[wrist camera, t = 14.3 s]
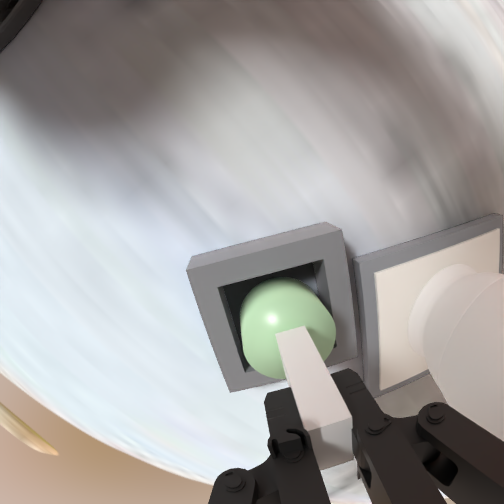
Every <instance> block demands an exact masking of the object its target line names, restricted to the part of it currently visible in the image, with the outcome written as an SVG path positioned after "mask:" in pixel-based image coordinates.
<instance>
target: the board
mask: <svg viewBox="0 0 504 504" xmlns="http://www.w3.org/2000/svg"><path fill="white" fill-rule="evenodd" d="M352 259H353V266H354V273H355V281H356V289H357V298H358V307H359V317H360V328H361V341H362V355H363V373H364V384H365V386H366V388H367V389H368V390H369V392H370V393H371V395H372V397H373V398H376V397H379V396H381V395H384V394H386V393H388V392H391V391H393V390H395V389H398V388H400V387H402V386H404V385H406V384H409V383H411V382H413V381H415V380H417V379H419V378H421V377H423V376H425V375H427V374H429V373H430V371H429V369H428V366H427V363H426V360H425V357H422V356H420V355H418V354H417V353H416V352H415V351H414V350H413V349H412V347H411V345H410V343H409V340H408V321H409V316H410V313H411V310H412V307H413V305H414V303H415V301H416V299H417V297H418V295H419V293H420V292H421V290H422V289H423V287H424V286H425V285H426V284H427V282H428V281H429V280H430V279H431V278H432V277H433V276H434V275H435V274H437V273H438V272H439V271H441V270H442V269H444V268H446V267H448V266H451V265H454V264H465V265H468V266H470V267H471V268H473V269H474V270H475V271H476V272H477V273H481V272H493V273H500V274H502V264H503V215H500V214H495V213H494V214H491V215H488V216H485V217H482V218H479V219H476V220H473V221H470V222H467V223H464V224H461V225H458V226H455V227H452V228H449V229H446V230H443V231H440V232H437V233H434V234H431V235H427V236H424V237H421V238H418V239H415V240H412V241H408V242H405V243H402V244H399V245H396V246H392V247H389V248H386V249H382V250H379V251H376V252H372V253H369V254H366V255H362V256H359V257H356V258H352Z"/></svg>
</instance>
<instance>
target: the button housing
mask: <svg viewBox="0 0 504 504" xmlns="http://www.w3.org/2000/svg"><path fill="white" fill-rule="evenodd" d="M310 262H313V267H314V272H315V278H316V283H317V289H318V294H319V300H320V301H321V302H322V304H323V305H324V306H325V308H326V309H327V310H328V312H329V313H330V315H331V316H332V318H333V320H334V323H335V327H336V339H335V344H334V346H333V349H332V351H331V353H330V354H329V356H328V357H327V359H326V360H325V361H324V363H325V365H326V367H329V366H332V365H335V364H338V363H341V362H344V361H347V360H350V359H353V358H356V357H358V353H357V341H356V330H355V320H354V311H353V302H352V294H351V286H350V278H349V271H348V264H347V257H346V251H345V245H344V239H343V233H342V229H340V228H338V227H336V226H333V225H331V224H329V223H327V222H323V223H319V224H315V225H311V226H307V227H303V228H299V229H295V230H291V231H287V232H283V233H280V234H276V235H272V236H268V237H264V238H260V239H256V240H252V241H249V242H245V243H241V244H237V245H233V246H229V247H226V248H222V249H218V250H214V251H210V252H207V253H203V254H199V255H195V256H192V257H191V260H190V262H189V264H188V267H187V269H186V272H187V275H188V278H189V281H190V284H191V287H192V290H193V293H194V296H195V299H196V302H197V305H198V308H199V311H200V314H201V317H202V320H203V322H204V325H205V328H206V331H207V334H208V336H209V339H210V342H211V345H212V347H213V350H214V353H215V355H216V358H217V361H218V363H219V366H220V368H221V371H222V374H223V376H224V379H225V381H226V384H227V386H228V389H229V391H230V393H231V392H236V391H240V390H245V389H249V388H254V387H258V386H262V385H266V384H270V383H274V382H278V381H282V380H285V379H275V378H271V377H268V376H265V375H263V374H261V373H259V372H258V371H256V370H255V369H254V368H253V367H252V366H251V365H250V364H249V363H248V361H247V359H246V357H245V355H244V351H243V349H242V346H241V343H240V340H239V337H238V334H237V331H236V327H235V324H234V321H233V318H232V315H231V311H230V308H229V305H228V301H227V298H226V295H225V292H224V288H223V286H224V285H228V284H231V283H235V282H239V281H243V280H247V279H251V278H255V277H258V276H262V275H266V274H270V273H273V272H277V271H281V270H285V269H288V268H292V267H296V266H299V265H303V264H307V263H310Z"/></svg>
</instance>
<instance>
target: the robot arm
mask: <svg viewBox="0 0 504 504" xmlns="http://www.w3.org/2000/svg"><path fill="white" fill-rule="evenodd" d="M41 1H42V0H0V51H1V50H2V49H3V48H4V47H5V46H6V45H7V44H8V43H9V42H10V41H11V40H12V39H13V38H14V36H15V35H16V34H17V33H18V32H19V31H20V29H21V28H22V27H23V26H24V24H25V23H26V22H27V21H28V19H29V18H30V17H31V15H32V14H33V13H34V11H35V10H36V8H37V7H38V5H39V4H40V2H41ZM275 336H276V340H277V344H278V348H279V352H280V356H281V360H282V364H283V368H284V371H285V375H286V379H287V382H288V385H289V387H288V388H285V389H281V390H277V391H273V392H269V393H267V396H266V398H265V401H264V405H265V410H266V416H267V421H268V427H269V432H270V438H269V439H268V445H267V446H268V449H269V451H270V454H271V455H270V456H269V458H268V459H267V460H266V461H265V462H264V463H262V464H261V465H259V466H257V467H255V468H253V469H250V470H246V469H241V468H234V469H229V470H227V471H224V472H223V473H221V474H220V475H219V476H218V477H217V479H216V481H215V483H214V486H213V490H212V493H211V496H210V499H209V502H208V504H331V503H330V500H329V497H328V494H327V491H326V488H325V485H324V482H323V478H322V475H321V472H320V470H324V469H327V468H330V467H333V466H336V465H339V464H342V463H345V462H348V461H351V460H354V456H355V458H356V460H357V477H358V479H362V481H363V483H364V486H365V488H366V490H367V492H368V495H369V497H370V499H371V502H372V504H447V503H446V501H445V500H444V498H443V496H442V495H441V493H440V491H439V490H441V491H442V492H443V493H444V494H445V495H446V496H448V497H449V498H450V499H451V500H452V501H454V502H455V503H456V504H504V441H502V440H501V439H499V438H498V437H496V436H494V435H493V434H491V433H490V432H488V431H487V430H485V429H484V428H482V427H481V426H479V425H478V424H476V423H475V422H473V421H472V420H470V419H468V418H467V417H465V416H464V415H462V414H461V413H459V412H458V411H456V410H455V409H453V408H452V407H450V406H449V405H447V404H444V403H440V402H434V403H430V404H428V405H426V406H424V407H423V408H422V409H421V410H420V411H419V414H418V415H416V416H411V417H406V418H393V417H391V416H389V415H387V414H384V413H383V412H382V410H381V409H380V407H379V406H378V404H377V403H376V401H375V400H374V398H373V397H372V395H371V393H370V392H369V390H368V389H367V388H366V386H365V384H364V383H363V381H362V380H361V378H360V376H359V375H358V373H356V372H354V371H353V370H351V369H349V368H347V369H345V370H342V371H339V372H336V373H333V374H330V373H329V371H328V369H327V367H326V365H325V363H324V362H323V360H322V358H321V356H320V354H319V352H318V350H317V348H316V346H315V344H314V342H313V341H312V339H311V337H310V335H309V333H308V331H307V329H306V327H305V325H304V326H301V327H297V328H294V329H290V330H287V331H283V332H280V333H276V334H275ZM353 454H354V455H353ZM438 489H439V490H438Z"/></svg>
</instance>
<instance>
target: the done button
mask: <svg viewBox="0 0 504 504" xmlns="http://www.w3.org/2000/svg"><path fill="white" fill-rule="evenodd" d="M304 325H305V327H306V329H307V331H308V333H309V335H310V337H311V339H312V341H313V342H314V344H315V346H316V348H317V350H318V352H319V354H320V356H321V358H322V360H323V362H324V361H325V360H326V359H327V357H328V356H329V354H330V353H331V351H332V349H333V346H334V344H335V339H336V327H335V323H334V320H333V318H332V316H331V315H330V313H329V312H328V310H327V309H326V308H325V306H324V305H323V304H322V302H321V301H320V300H319V298H318V297H317V296H316V294H315V293H314V292H313V291H312V289H311V288H310V287H309V286H308V285H307V284H305V283H304V282H302V281H300V280H298V279H294V278H290V277H276V278H271V279H268V280H265V281H263V282H261V283H260V284H258V285H256V286H255V287H254V288H253V289H252V290H251V291H250V292H249V293H248V294H247V296H246V297H245V299H244V301H243V303H242V305H241V309H240V326H241V335H242V344H243V351H244V355H245V357H246V359H247V361H248V363H249V364H250V365H251V366H252V367H253V368H254V369H255V370H256V371H258V372H259V373H261V374H263V375H265V376H268V377H271V378H275V379H286V375H285V371H284V368H283V364H282V360H281V356H280V352H279V348H278V344H277V340H276V336H275V334H276V333H280V332H283V331H287V330H290V329H294V328H297V327H301V326H304Z"/></svg>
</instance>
